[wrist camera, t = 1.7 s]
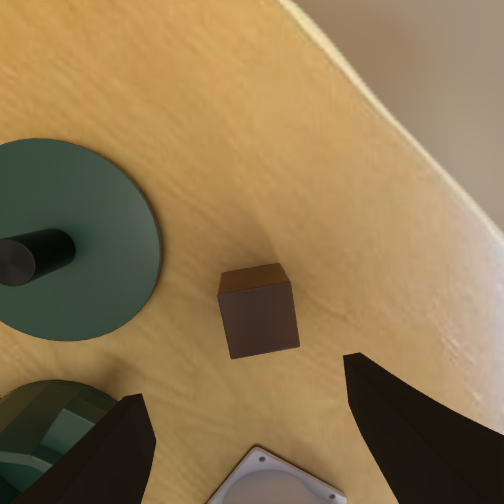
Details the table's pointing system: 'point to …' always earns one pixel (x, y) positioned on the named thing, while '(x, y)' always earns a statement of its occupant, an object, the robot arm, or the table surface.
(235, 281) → the block
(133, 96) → the table surface
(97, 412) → the pot
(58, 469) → the robot arm
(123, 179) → the lid
